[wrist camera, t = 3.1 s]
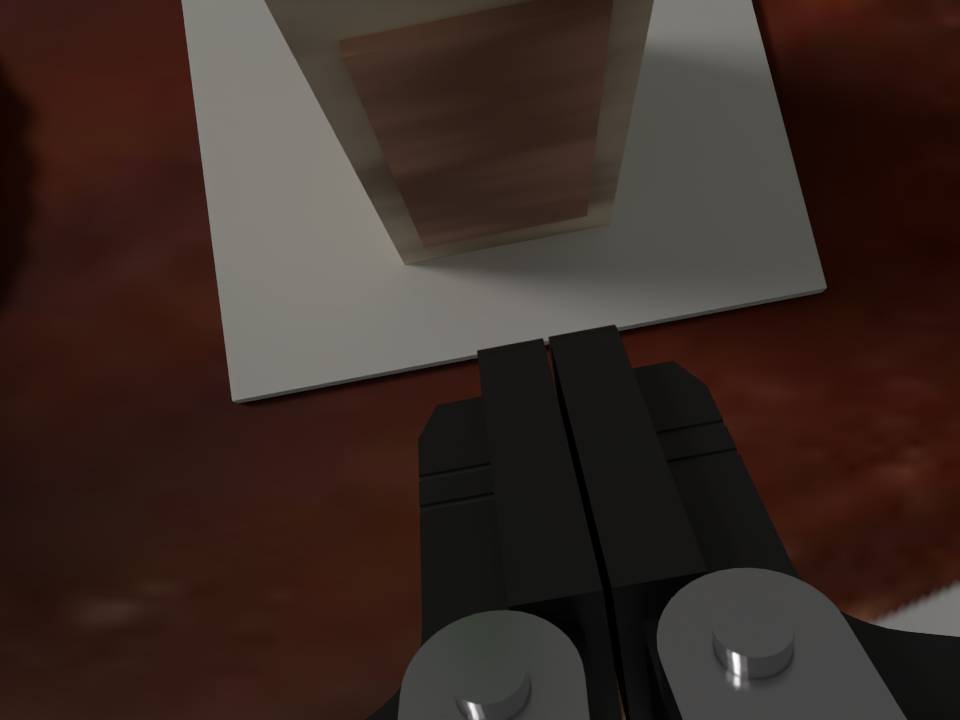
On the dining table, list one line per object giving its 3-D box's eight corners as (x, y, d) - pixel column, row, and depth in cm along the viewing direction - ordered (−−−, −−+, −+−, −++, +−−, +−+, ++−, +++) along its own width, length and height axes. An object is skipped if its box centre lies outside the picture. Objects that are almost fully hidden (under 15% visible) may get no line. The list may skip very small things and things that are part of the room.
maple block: (406, 274, 27) (254, -5, 13) (372, 76, 28) (201, -371, 14) (611, 234, 26) (681, -93, 13) (568, 37, 28) (589, -458, 14)
